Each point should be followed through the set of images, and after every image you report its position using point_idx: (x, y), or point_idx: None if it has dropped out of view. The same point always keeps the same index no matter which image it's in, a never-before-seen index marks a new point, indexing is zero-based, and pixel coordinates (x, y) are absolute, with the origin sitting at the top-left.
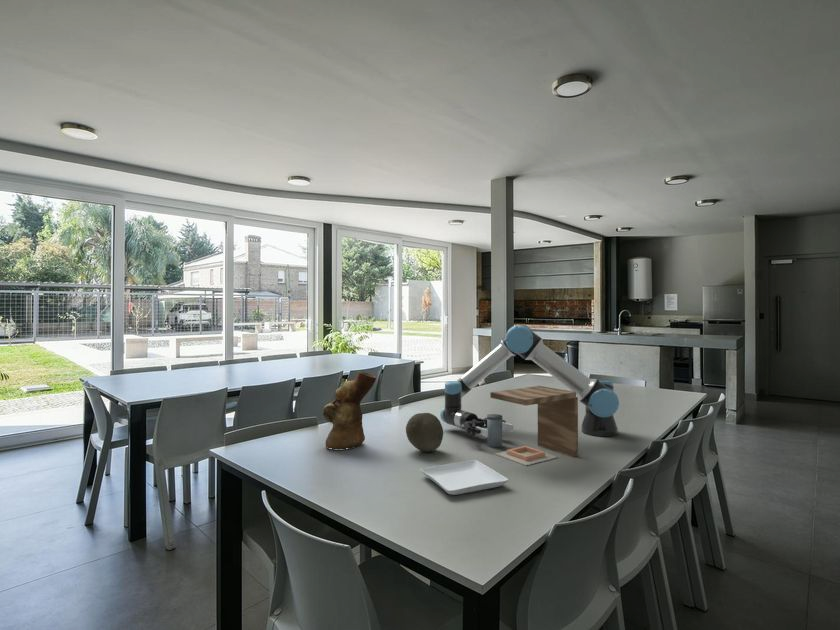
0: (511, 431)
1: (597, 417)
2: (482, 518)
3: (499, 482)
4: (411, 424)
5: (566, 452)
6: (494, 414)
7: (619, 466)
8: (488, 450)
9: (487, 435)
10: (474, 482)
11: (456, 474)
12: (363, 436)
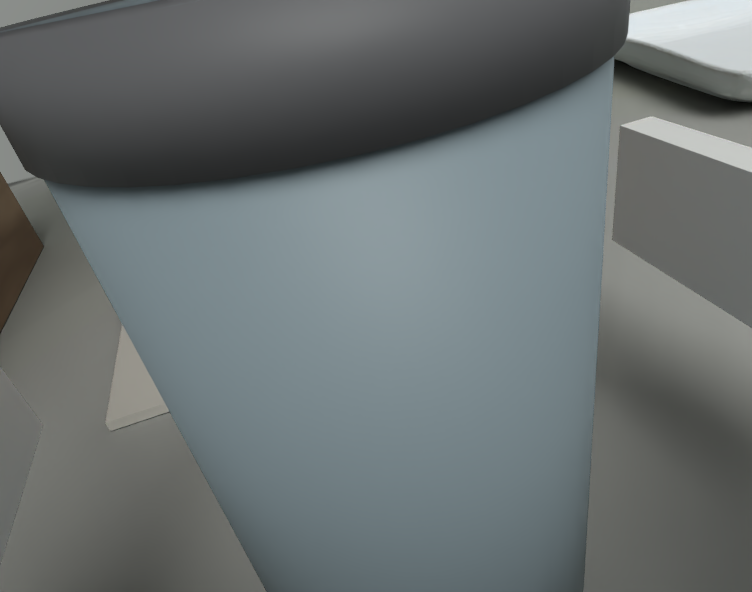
0: (39, 431)
1: None
2: (678, 2)
3: None
4: None
5: (21, 262)
6: (112, 14)
7: (28, 184)
8: (596, 390)
9: (623, 215)
10: (719, 47)
11: None
12: None
